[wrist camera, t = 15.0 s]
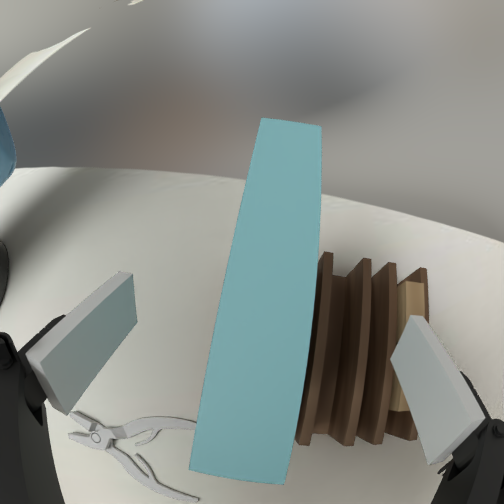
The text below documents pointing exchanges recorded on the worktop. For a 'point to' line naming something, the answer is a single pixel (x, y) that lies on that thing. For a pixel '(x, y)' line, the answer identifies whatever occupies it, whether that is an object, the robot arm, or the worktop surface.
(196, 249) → the worktop surface
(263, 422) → the tall board
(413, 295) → the offcut
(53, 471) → the robot arm
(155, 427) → the pliers
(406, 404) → the offcut
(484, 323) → the worktop surface
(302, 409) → the rack
